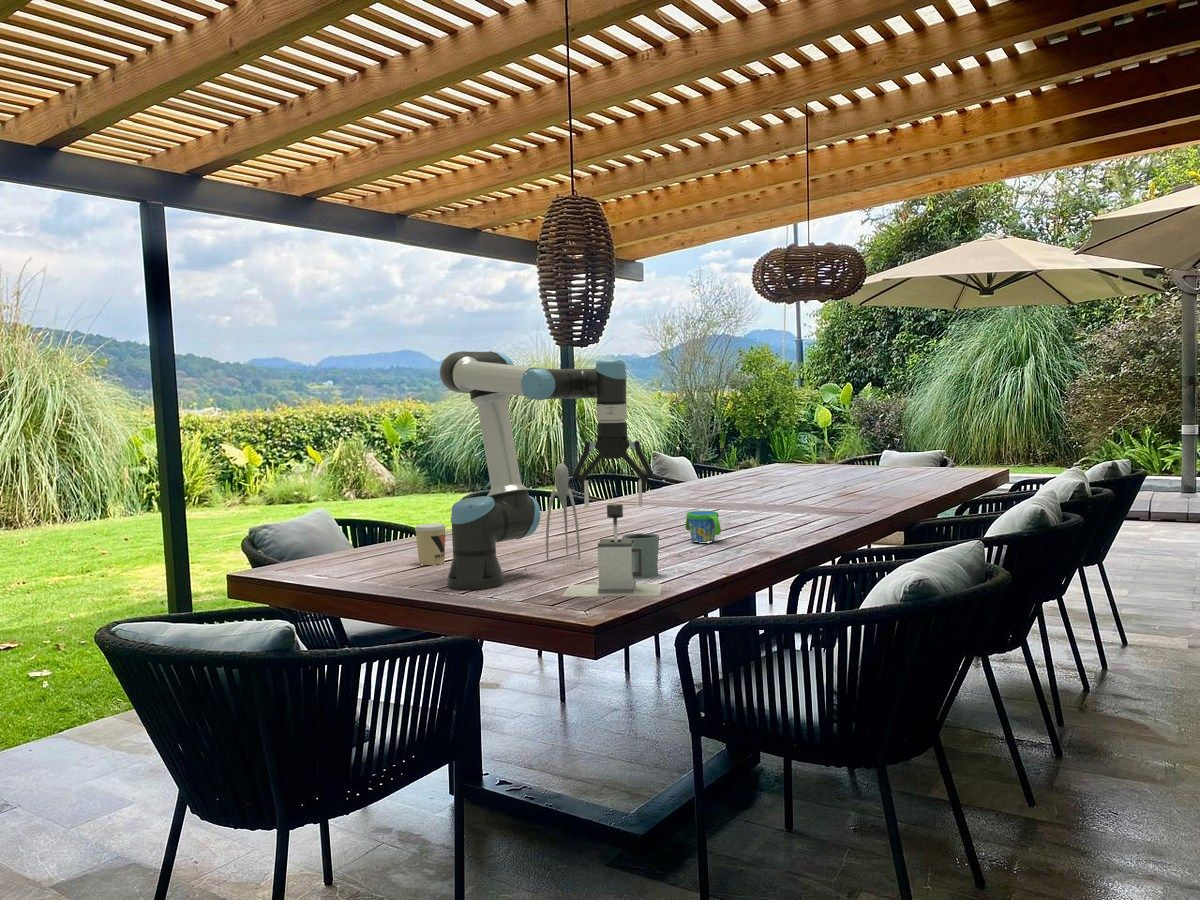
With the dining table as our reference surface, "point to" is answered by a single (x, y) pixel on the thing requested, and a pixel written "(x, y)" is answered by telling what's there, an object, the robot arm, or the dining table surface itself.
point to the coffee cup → (431, 543)
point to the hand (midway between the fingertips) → (613, 506)
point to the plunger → (615, 516)
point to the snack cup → (703, 525)
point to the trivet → (593, 591)
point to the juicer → (562, 503)
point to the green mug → (646, 553)
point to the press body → (617, 565)
